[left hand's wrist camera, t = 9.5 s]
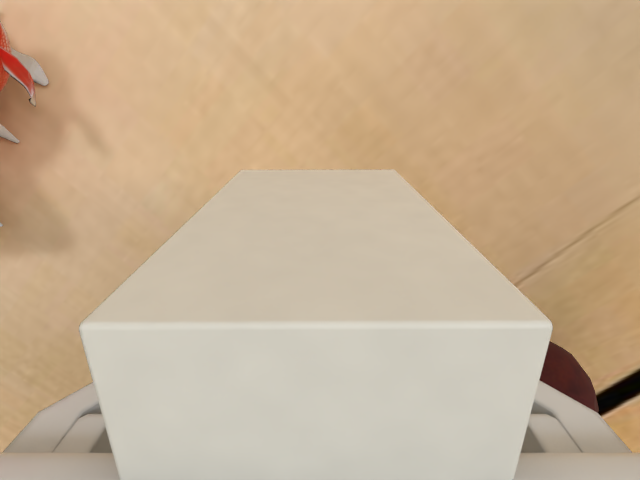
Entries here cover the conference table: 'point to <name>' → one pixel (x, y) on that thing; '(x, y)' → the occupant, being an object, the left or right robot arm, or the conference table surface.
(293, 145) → the conference table surface
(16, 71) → the fish
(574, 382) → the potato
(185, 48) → the conference table surface
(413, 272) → the bar
